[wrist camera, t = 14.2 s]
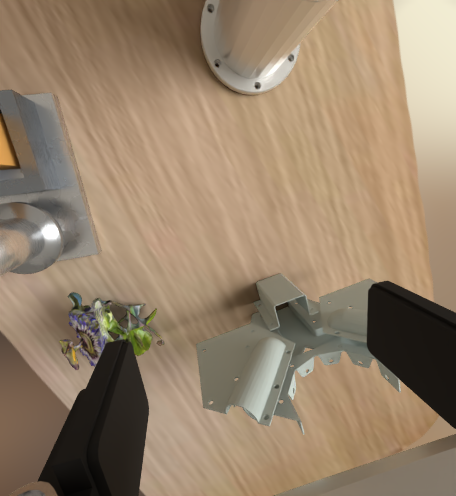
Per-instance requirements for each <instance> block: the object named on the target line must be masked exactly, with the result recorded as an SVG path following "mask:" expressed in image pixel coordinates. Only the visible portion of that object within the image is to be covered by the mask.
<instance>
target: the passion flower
mask: <svg viewBox="0 0 456 496" xmlns="http://www.w3.org/2000/svg"><path fill="white" fill-rule="evenodd" d="M68 297H69V298H70V300H71V301H72V303H73V307H72V310H71V311H70V312H69V318H70V322H69V324H70V326H72V327H73V328H74V329H75V331H76V332H77V338H79V339H80V340H81V341H80V343H79V344H78V345H77V346H74V344H73V342H72V341H71V340H60V341H59V342H60V343H61V345H62V353H63V354H64V356H65V357H66V358H67V359H68V360H69V363H70V364H71V366H72V367H73V368H75V370H78V369H79V364H78V360H77V358H76V355H75V352H76V350H78V349H79V348H80V352H82V354H83V355H85V356H87V358H88V360H89V361H90V364H91V366H94V367H96V365H97V362H98V360H99V358H100V356H101V353H102V351H103V349H104V346H105V344H106V343H108V342H112V341H116V340H121V339H125V341H126V343H127V342H131V343H132V346H133V349H134V353H135V355H137V356H139V355H141V354H143V353H144V352H145V351H147V350H149V347H150V344H151V340H152V335H151V334H150V333H149V332H148V331H146V330H145V329H143V327H145V326H146V327H147V328H148V329H149V330H150V331H151V332H153V333H154V334H155V335H156V336H158V337H159V338H160V339H161V341H158V342H157V344H158V345H159V346H161V345H164V341H163V340H162V337H161V336H160V335H158V334H157V333H156V332H155V331H154V330H153V329H151V328H150V327H148V326H147V324H148V323H149V322H150V321H151V320H152V319H153V318H154V316H155V314H156V310H157V309H155V310H154V311H153V312H152V313H151V314H150V316H148V317H147V318H145V319H140V318H139V317H138V315H139V313H140V308H141V307H142V306H145V304H141V305H138V306H132V305H129V306H125V305H122V304H119V303H116V302H115V301H110V300H109V301H102V300H101V299H100V298H97V299H95V300H93V303H92V307H91V308H90V306H84V307H83V306H82V305H81V302H82V298H81V296H80V295H79V294H78V293H74V292H73V293H70V294H69V295H68ZM111 304H115V305H116V306H118V307H123V308H126V312H127V314H126V316H125V317H124V318H123V319H121V320H120V321H119V322H117V320H116V319H115V318H114V316H113V315H112V312H111V311H110V306H111ZM131 314H132V315H133V316H134V317H135V318H136V319H137V320H138V323H137V324H132V323H131V321H130V316H131ZM123 320H127V321H128V325H127V328H126V329H125V328H123V327H121V326H120V325H119V323H120V322H122V321H123ZM108 332H114V333H115V334H119V336H118V337H117V339H116V340H114V339H113V338H112V336H111V335H109V333H108Z"/></svg>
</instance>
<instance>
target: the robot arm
mask: <svg viewBox="0 0 456 496" xmlns="http://www.w3.org/2000/svg"><path fill="white" fill-rule="evenodd" d="M337 1H338V0H206V2H205V5H204V8H203V12H202V17H201V27H200V37H201V44H202V49H203V52H204V56H205V59H206V61H207V63H208V65H209V67H210V69H211V70H212V72H213V73H214V74H215V76H216V77H217V78H218V79H219V80H220V81H221V82H222V83H223V84H224V85H226V86H227V87H229V88H230V89H232V90H234V91H236V92H239V93H241V94H247V95H259V94H262V93H266V92H268V91H270V90H272V89H274V88H275V87H277V86H278V85H279V84H280V83H282V81H283V80H284V79H285V78H286V77H287V76H288V75H289V73H290V72H291V70H292V69H293V67H294V65H295V63H296V60H297V57H298V53H299V49H300V43H301V42H302V40H303V39H304V38H305V37H306V36H307V35H308V34H309V33H310V31H311V30H312V29H313V28H314V27H315V26H316V25H317V23H318V22H319V21H320V20H321V19H322V18H323V17H324V16H325V14H326V13H327V12H328V11H329V10H330V9H331V8H332V7H333V5H334V4H335V3H336V2H337ZM208 11H211V12H212V13H209V12H208ZM288 59H289V60H290V61H289V60H288ZM216 64H217V65H218V66H219V67H216V66H215V65H216ZM254 86H256V87H257V89H255V87H254ZM367 348H368V350H369V352H370V353H371V354H372V355H373V356H374V357H375V358H376V359H377V360H378V361H380V362H381V363H382V364H383V365H384V366H385V367H386V368H387V369H388V370H390V371H391V372H392V373H393V374H394V375H395V376H396V377H397V378H399V379H400V380H401V381H402V382H403V383H404V384H405V385H406V386H407V387H409V388H410V389H411V390H412V391H413V392H414V393H415V394H416V395H418V396H419V397H420V398H421V399H422V400H423V401H424V402H425V403H426V404H428V405H429V406H430V407H431V408H432V409H433V410H434V411H435V412H436V413H438V414H439V415H440V416H441V417H442V418H443V419H444V420H445V421H447V422H448V423H449V424H450V425H451V426H452V427H454V428H455V429H456V313H455V312H453V311H451V310H449V309H446V308H444V307H442V306H440V305H438V304H436V303H434V302H432V301H430V300H428V299H425V298H423V297H421V296H419V295H417V294H415V293H413V292H411V291H409V290H407V289H404V288H402V287H400V286H398V285H396V284H394V283H392V282H389V281H383V282H379V283H374V284H372V285H371V288H370V289H369V290H368V309H367ZM148 415H149V405H148V399H147V396H146V392H145V389H144V385H143V382H142V378H141V374H140V371H139V367H138V364H137V360H136V356H135V353H134V349H133V346H132V343H131V342H127V343H126V341H125V339H121V340H116V341H112V342H108V343H106V344H105V346H104V349H103V351H102V353H101V356H100V358H99V360H98V362H97V365H96V367H95V369H94V371H93V374H92V376H91V378H90V380H89V383H88V385H87V387H86V389H83V390H82V391H80V393H79V394H78V396H77V398H76V400H75V402H74V404H73V406H72V409H71V411H70V413H69V415H68V417H67V420H66V421H65V424H64V426H63V428H62V430H61V432H60V434H59V437H58V439H57V441H56V443H55V445H54V447H53V449H52V451H51V454H50V456H49V458H48V460H47V462H46V464H45V467H44V468H43V471H42V473H41V475H40V477H39V479H38V481H37V482H34V483H30V484H28V485H25V486H24V487H21V488H19V489H17V490H16V491H14V492H13V493H11V494H10V495H8V496H138V494H139V486H140V478H141V471H142V463H143V455H144V447H145V439H146V431H147V423H148ZM274 496H456V434H454V435H451V436H448V437H446V438H442V439H439V440H436V441H433V442H430V443H427V444H424V445H421V446H418V447H416V448H412V449H409V450H406V451H403V452H400V453H397V454H394V455H391V456H388V457H385V458H383V459H380V460H377V461H374V462H371V463H368V464H365V465H362V466H359V467H356V468H353V469H350V470H347V471H344V472H341V473H338V474H335V475H332V476H329V477H326V478H323V479H321V480H318V481H315V482H312V483H309V484H306V485H303V486H300V487H297V488H294V489H291V490H289V491H286V492H283V493H280V494H277V495H274Z"/></svg>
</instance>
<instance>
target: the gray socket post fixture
mask: <svg viewBox="0 0 456 496" xmlns="http://www.w3.org/2000/svg"><path fill="white" fill-rule="evenodd" d="M0 114H2V115H3V117H4V120H5V123H6V126H7V129H8V132H9V135H10V137H11V140H12V143H13V146H14V149H15V152H16V155H17V158H18V160H19V163H20V166H21V168H20V169H8V170H0V276H2V275H4V274H5V273H7V272H13V273H18V274H31V273H36V272H39V271H42V270H44V269H46V268H47V267H49V266H50V265H52V264H53V263H55V262H56V261H61V260H67V259H73V258H78V257H84V256H90V255H95V254H99V253H100V252H101V251H102V250H101V247H100V243H99V240H98V236H97V233H96V230H95V226H94V223H93V219H92V216H91V212H90V209H89V205H88V202H87V198H86V195H85V191H84V188H83V184H82V181H81V177H80V174H79V170H78V167H77V164H76V160H75V157H74V153H73V150H72V146H71V143H70V139H69V136H68V132H67V129H66V125H65V122H64V118H63V115H62V111H61V108H60V104H59V101H58V97H56V96H55V95H54V94H52V93H44V94H32V95H20V94H18V93H17V92H15V91H13V90H2V91H0Z"/></svg>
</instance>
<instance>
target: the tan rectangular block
mask: <svg viewBox="0 0 456 496" xmlns="http://www.w3.org/2000/svg"><path fill="white" fill-rule="evenodd" d="M20 168H21V166H20V163H19V160H18V158H17V155H16V152H15V149H14V146H13V143H12V140H11V137H10V135H9V132H8V129H7V126H6V123H5V120H4V117H3V115H2V114H0V170H8V169H20Z"/></svg>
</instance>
